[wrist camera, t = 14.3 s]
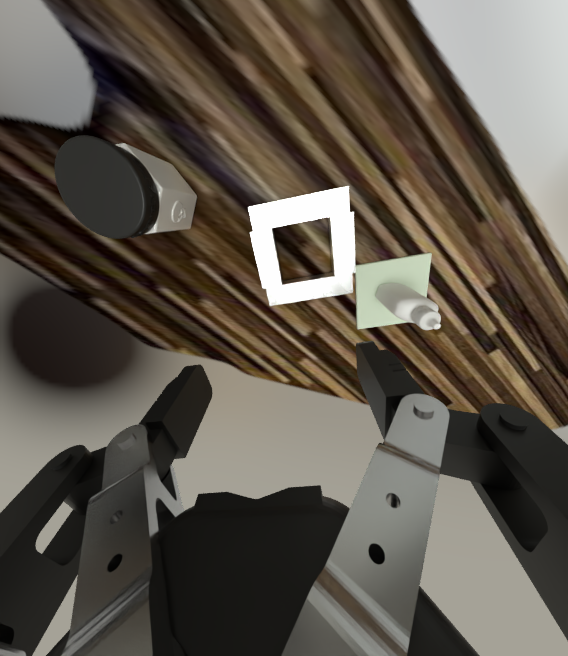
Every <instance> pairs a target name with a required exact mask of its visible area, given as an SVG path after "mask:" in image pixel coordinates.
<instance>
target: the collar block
mask: <svg viewBox="0 0 568 656" xmlns="http://www.w3.org/2000/svg"><path fill="white" fill-rule="evenodd" d="M248 210H249V214H250V219H251V223H252V228H253V231H252V232H250V235H251V240H252V244H253V248H254V253H255V257H256V261H257V266H258V270H259V274H260V279H261V283H262V288H266V291H267V295H268V300H269V304H270V306H272V305H279V304H285V303H291V302H298V301H304V300H310V299H317V298H323V297H329V296H336V295H342V294H348V293H353V282H352V273H356V269H355V238H354V212H350V207H349V186H346V187H341V188H336V189H331V190H327V191H322V192H317V193H312V194H308V195H303V196H298V197H293V198H289V199H284V200H279V201H275V202H270V203H265V204H260V205H256V206H251V207H248ZM325 217H328V226H329V239H330V251H331V264H332V273H326V274H320V275H314V276H308V277H302V278H296V279H291V280H285V281H282V275H281V270H280V265H279V259H278V254H277V248H276V243H275V237H274V232H273V228H275V227H280V226H285V225H290V224H295V223H300V222H305V221H310V220H315V219H320V218H325Z"/></svg>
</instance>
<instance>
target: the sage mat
mask: <svg viewBox="0 0 568 656" xmlns="http://www.w3.org/2000/svg"><path fill="white" fill-rule="evenodd" d="M431 254H432V253H424V254H418V255H412V256H406V257H401V258H395V259H389V260H383V261H377V262H371V263H366V264H360V265H355V269H356V273H355V291H356V320H357V329H363V328H370V327H377V326H384V325H392V324H399V323H406V322H407V321H404V320H402V319H400V318H398V317H396V316H395V315H394V314H392V313H391V312H390V311H389V310H388V309H387V308H386V307H385V306H384V305H383V304H382V303H381V302H380V301H378V300H377V298H376V293H377V290H378V288H379V286H380V285H382V284H387V283H399V284H403V285H405V286H408V287H409V288H411V289H413V290H414V291H416V292H418V293H420V294H421V295H423V296H425V297H427V288H428V280H429V271H430V263H431Z"/></svg>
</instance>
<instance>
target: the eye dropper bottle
mask: <svg viewBox="0 0 568 656" xmlns="http://www.w3.org/2000/svg"><path fill="white" fill-rule="evenodd" d="M376 298H377V300H378V301H380V302H381V303H382V304H383V305H384V306H385V307H386V308H387V309H388V310H389V311H390V312H391V313H392V314H394V315H395V316H396V317H398V318H400V319H402V320H404V321H407V322H411V323H416V324H417V325H418V326H419V327H421V328H422V329H424V330H431V329H433V328H434V329H439V328H440V326H441V325H440V324H439V323H440V320H441V316H440V314H439V313H438V305H437V304H435V303H434V302H433V301H431V300H429V299H428V298H426V297H425V296H423V295H421V294H420V293H418V292H416V291H414V290H413V289H411V288H409V287H408V286H405V285H403V284H399V283H387V284H382V285H380V286H379V288H378V290H377V293H376Z"/></svg>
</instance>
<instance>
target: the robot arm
mask: <svg viewBox="0 0 568 656" xmlns="http://www.w3.org/2000/svg"><path fill="white" fill-rule="evenodd" d="M356 356H357V372H358V377H359V380H360V383H361V385H362V388H363V390H364V393H365V395H366V397H367V400H368V402H369V405H370V407H371V410H372V412H373V414H374V417H375V419H376V421H377V424H378V427H379V429H380V431H381V434H382V436H383V439H384V442H383V444H382V443H379V444H378V446H377V447H376V450H375V452H374V454H373V456H372V459H371V461H370V463H369V466H368V468H367V470H366V473H365V475H364V477H363V480H362V482H361V484H360V487H359V489H358V492H357V494H356V496H355V498H354V500H353V503H352V505H351V507H350V509H349V508H348V507H347V506H345V505H344V504H342V503H340V502H338V501H336V500H333V499H331V498H328V497H324V496H322V491H321V486H305V487H291V488H287V489H284V490H281V491H279V492H276V493H273V494H271V495H268V496H265V497H262V498H260V499H252V498H247V497H244V496H240V495H237V494H233V493H229V492H221V493H220V492H219V493H207V494H206V493H205V494H198V497H197V500H196V503H195V506H193V507H191V508H189V509H187V510H185V511H184V509H183V506H182V502H181V498H180V493H179V489H178V485H177V481H176V476H175V472H174V468H173V466H172V465H171V464H172V462H173V460H174V459H179V458H185V457H186V455H187V453H188V451H189V448H190V446H191V444H192V442H193V439H194V437H195V435H196V432H197V430H198V428H199V425H200V423H201V421H202V419H203V416H204V414H205V412H206V409H207V407H208V405H209V403H210V400H211V398H212V387H211V385H210V382H209V380H208V378H207V375H206V373H205V371H204V369H203V367H202V366H201V365H193V366H186V367H184V368H183V370H182V371H181V373H180V374H179V375H178V377H176V378H175V379H174V380H173V381H172V382H170V383H169V384H168V385H167V386H166V388H165V389H164V390H163V392H162V394H161V395H160V396H159V397H158V398H157V401H155V403H154V404H153V405H152V407H151V408H150V410H149V411H148V412H147V414H146V415H145V416H144V418H143V419H142V420H141V422H140V423H139V424H138V425H133V426H130V427H128V428H126V429H124V430H123V431H121V432H120V433H119V434H117V435H116V436H115V437H114V438H113V439H112V440H111V441H110V443H109V444H108V446H107V447H104V448H101V449H99V450H96V451H93V452H89V451H88V450H87V448H86V447H85V446H83V445H77V446H73V447H70V448H68V449H66V450H64V451H63V452H61V453H59V454H58V455H57V456H55V457H54V458H53V459H51V460H50V461H49V462H48V463H47V464H46V465H45V466H44V467H43V468H42V469H41V470H40V471H39V473H38V474H37V475H36V476H35V477H34V478H33V479H32V480H31V481H30V482H29V484H27V485H26V486H25V488H24V489H23V490H22V491H21V492H20V493H19V494H18V495H17V496H16V497H15V498H14V499H13V500H12V501H11V502H10V503H9V504H8V506H7V507H6V508H5V509H4V510H3V511H2V512H1V513H0V656H32V655H33V653H34V651H35V649H36V647H37V646H38V644H39V642H40V640H41V638H42V637H43V635H44V633H45V631H46V630H47V628H48V626H49V624H50V622H51V620H52V619H53V617H54V615H55V613H56V612H57V610H58V608H59V606H60V605H61V603H62V601H63V599H64V597H65V596H66V594H67V592H68V590H69V589H70V587H71V585H72V583H73V581H74V580H75V578H76V576H77V574H78V577H77V585H76V592H75V599H74V606H73V613H72V620H71V627H70V630H69V631H68V632H67V633H66V634H65V635H64V637H63V638H62V639H61V640H60V641H59V642H58V643H57V644H56V645H55V646H54V647H53V649H52V650H51V651H50V652H49V653H48V654H47V655H46V656H479V655H478V654H477V652H476V651H475V650H474V649H473V648H472V646H471V645H470V644H469V643H468V642H467V641H466V640H465V638H464V637H463V636H462V635H461V634H460V632H459V631H458V630H457V629H456V628H455V627H454V626H453V624H452V623H451V622H450V621H449V620H448V619H447V617H446V616H445V615H444V614H443V613H442V611H441V610H440V609H439V608H438V607H437V606H436V604H435V603H434V602H433V601H432V600H431V599H430V597H429V596H428V595H427V594H426V593H425V592H424V590H423V589H422V588H421V587H420V586H419V585H420V580H421V574H422V569H423V563H424V558H425V552H426V547H427V541H428V536H429V530H430V525H431V518H432V513H433V508H434V503H435V497H436V492H437V486H438V480H439V474H444V475H448V476H452V477H456V478H460V479H464V480H469V481H471V483H472V484H473V486H474V488H475V490H476V491H477V493H478V495H479V496H480V498H481V499H482V501H483V503H484V504H485V506H486V508H487V509H488V511H489V513H490V514H491V516H492V518H493V519H494V521H495V522H496V524H497V526H498V527H499V529H500V530H501V532H502V534H503V535H504V537H505V539H506V540H507V542H508V544H509V545H510V547H511V549H512V550H513V552H514V553H515V555H516V557H517V558H518V560H519V562H520V563H521V565H522V567H523V568H524V570H525V571H526V573H527V575H528V576H529V578H530V580H531V581H532V583H533V585H534V586H535V588H536V589H537V591H538V593H539V594H540V596H541V598H542V599H543V601H544V603H545V604H546V605H547V607H548V609H549V611H550V612H551V614H552V616H553V617H554V619H555V620H556V622H557V624H558V625H559V627H560V629H561V630H562V632H563V634H564V635H565V637H566V638H567V640H568V445H567V444H566V443H565V442H564V441H563V440H562V439H561V438H559V437H558V436H557V435H556V434H555V433H554V432H553V431H552V430H550V429H549V428H548V427H547V426H546V425H545V424H544V423H543V422H541V421H540V420H539V419H538V418H537V417H535V416H534V415H532V414H530V413H529V412H527V411H525V410H522V409H520V408H517V407H515V406H511V405H507V404H500V403H494V404H488V405H486V406H484V407H483V408H482V410H481V412H480V414H476V413H469V412H462V411H455V410H450V409H447V408H446V407H445V405H444V404H443V403H441V402H440V401H439V400H437V399H435V398H433V397H431V396H428V395H425V394H424V393H423V391H422V390H421V389H420V387H419V386H418V385H417V383H416V382H415V381H414V379H413V378H412V377H411V375H410V374H409V372H408V371H406V368H405V367H404V366H403V364H401V362H400V360H399V359H398V358H397V356H396V355H394V354H393V353H391V352H389V351H388V350H379V349H378V348H377V346H376V345H375V343H374V342H373V341H368V342H361V343H357V344H356ZM63 501H64V502H65V503H66V504H68V505H69V506H70V507H71V508H72V509H73V511H72V512H71V513H70V515H69V516H68V518H67V519H66V521H65V522H64V523H63V525H62V526H61V528H60V529H59V531H58V532H57V533H56V535H55V536H54V538H53V539H52V541H51V542H50V543H49V545H48V546H47V548H46V549H45V551H44V552H43V553H42V554H41V553H39V552H38V551H37V550H36V547H35V544H36V540H37V537H38V535H39V533H40V532H41V530H42V529H43V528H44V526H45V525H46V524H47V522H48V521H49V520H50V518H51V517H52V516H53V514H54V513H55V512H56V510H57V509H58V508H59V506H60V505H61V504H62V503H63Z"/></svg>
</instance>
